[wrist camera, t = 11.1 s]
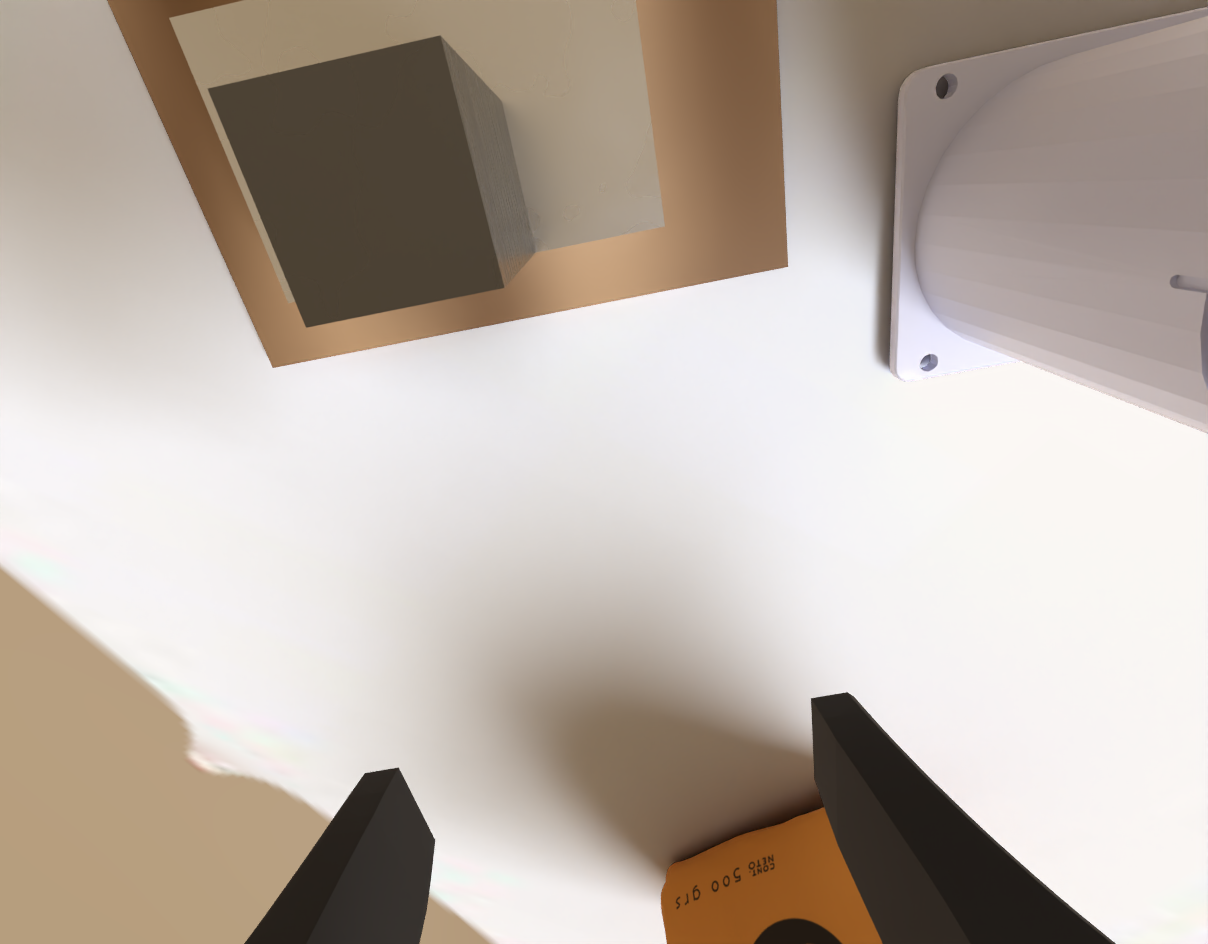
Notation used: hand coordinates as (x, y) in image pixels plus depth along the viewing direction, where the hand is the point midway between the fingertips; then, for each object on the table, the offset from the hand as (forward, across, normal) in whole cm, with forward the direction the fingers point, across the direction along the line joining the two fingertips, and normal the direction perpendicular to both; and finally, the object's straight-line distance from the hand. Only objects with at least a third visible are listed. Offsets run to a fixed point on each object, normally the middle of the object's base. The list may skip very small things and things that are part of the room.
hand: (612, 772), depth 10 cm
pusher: (+10, +1, -11) cm, 15 cm away
